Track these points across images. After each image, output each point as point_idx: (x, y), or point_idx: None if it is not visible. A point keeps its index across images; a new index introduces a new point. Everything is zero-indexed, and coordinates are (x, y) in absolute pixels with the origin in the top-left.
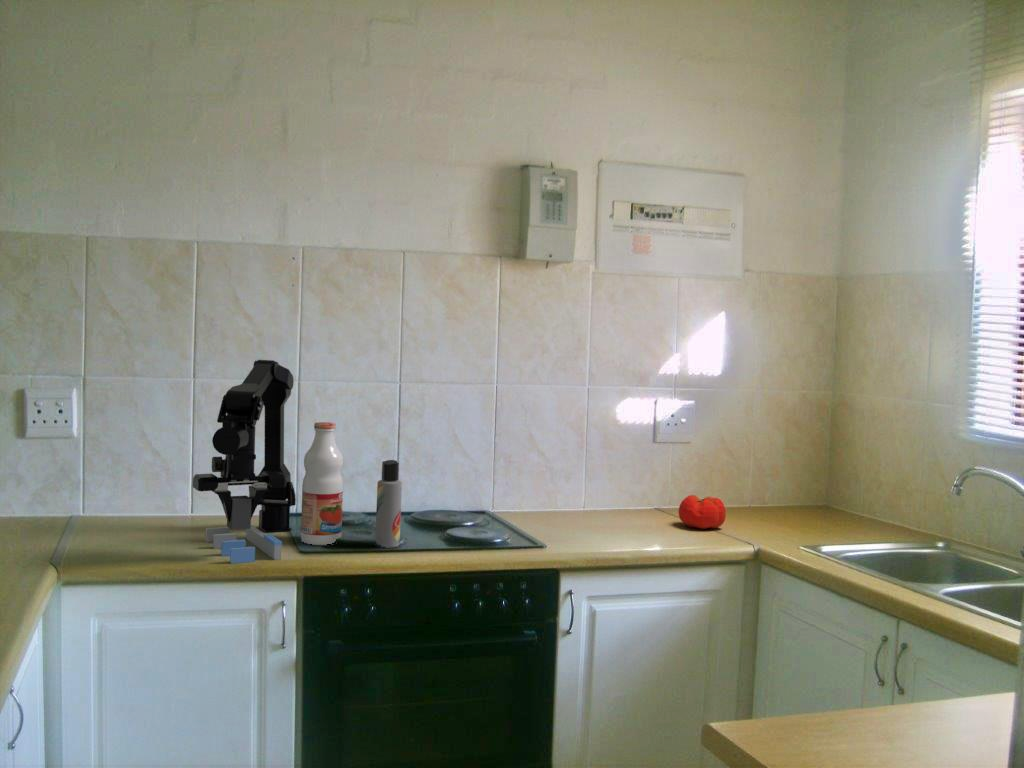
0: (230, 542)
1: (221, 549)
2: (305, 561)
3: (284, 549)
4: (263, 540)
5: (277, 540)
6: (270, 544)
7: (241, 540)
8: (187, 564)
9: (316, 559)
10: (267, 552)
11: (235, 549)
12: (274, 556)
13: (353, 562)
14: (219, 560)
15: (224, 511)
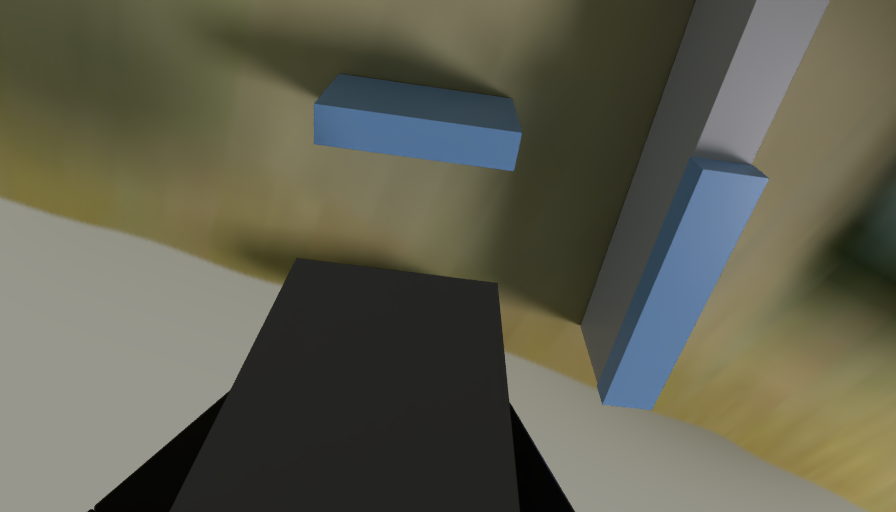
0: (382, 149)
1: (330, 87)
2: (690, 407)
3: (819, 130)
4: (684, 148)
5: (652, 375)
6: (624, 308)
7: (483, 151)
8: (84, 204)
9: (762, 400)
10: (625, 217)
11: None
12: (584, 339)
13: (841, 491)
14: (290, 204)
15: (172, 445)
